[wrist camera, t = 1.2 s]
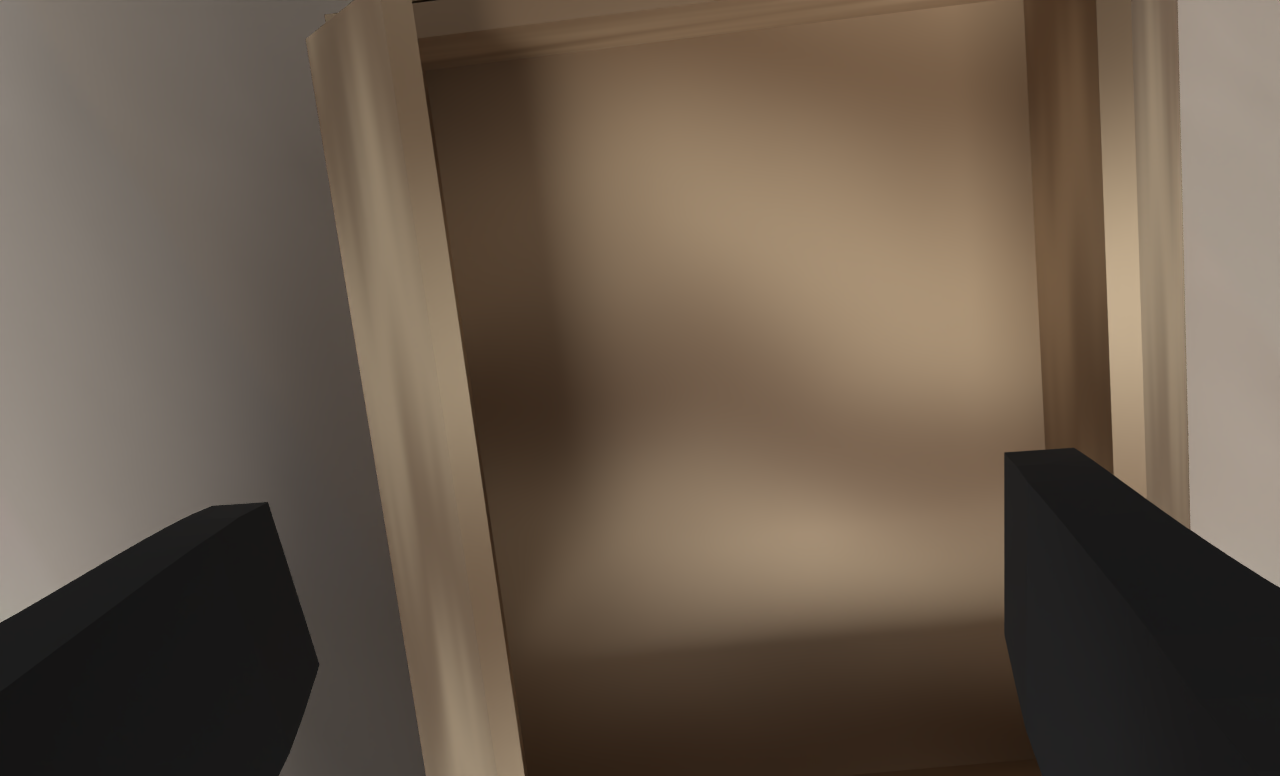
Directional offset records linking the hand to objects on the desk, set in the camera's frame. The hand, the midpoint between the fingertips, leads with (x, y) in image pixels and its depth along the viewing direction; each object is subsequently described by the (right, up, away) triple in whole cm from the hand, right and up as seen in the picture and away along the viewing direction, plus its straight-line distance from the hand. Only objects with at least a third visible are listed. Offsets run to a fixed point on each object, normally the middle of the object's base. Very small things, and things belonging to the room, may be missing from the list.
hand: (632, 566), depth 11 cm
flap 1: (-4, -1, +7) cm, 8 cm away
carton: (+2, +1, +11) cm, 12 cm away
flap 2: (+8, +1, +6) cm, 10 cm away
